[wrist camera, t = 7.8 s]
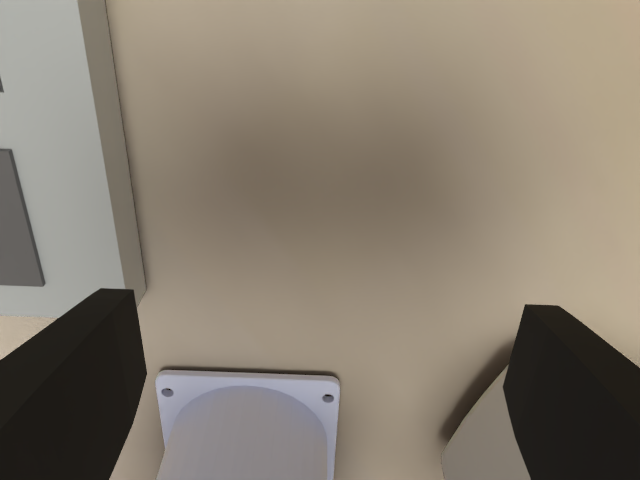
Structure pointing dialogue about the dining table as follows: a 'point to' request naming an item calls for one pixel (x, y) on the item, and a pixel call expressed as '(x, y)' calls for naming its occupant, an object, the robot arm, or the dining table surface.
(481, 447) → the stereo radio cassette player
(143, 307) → the dining table surface
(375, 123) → the dining table surface
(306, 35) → the dining table surface
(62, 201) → the outlet plate
